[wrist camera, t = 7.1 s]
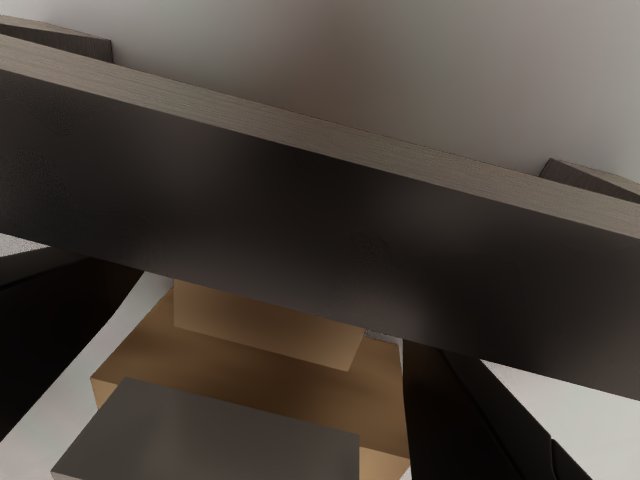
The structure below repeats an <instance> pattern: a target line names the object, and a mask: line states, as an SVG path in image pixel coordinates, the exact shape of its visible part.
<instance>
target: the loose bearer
mask: <svg viewBox="0 0 640 480" xmlns="http://www.w3.org/2000/svg"><path fill="white" fill-rule="evenodd" d="M173 301H174V326H175V327H179V328H183V329H187V330H190V331H194V332H198V333H202V334H206V335H209V336H213V337H217V338H221V339H225V340H228V341H232V342H236V343H240V344H244V345H247V346H251V347H255V348H259V349H263V350H267V351H270V352H274V353H278V354H282V355H286V356H289V357H293V358H297V359H301V360H305V361H308V362H312V363H316V364H320V365H324V366H327V367H331V368H335V369H339V370H343V371H346V372H348V370H349V368H350V365H351V363H352V361H353V358H354V356H355V354H356V352H357V349H358V347H359V345H360V342H361V340H362V338H363V335H364V333H365V331H366V329H364V328H360V327H356V326H353V325H349V324H345V323H341V322H337V321H334V320H330V319H326V318H322V317H318V316H315V315H311V314H307V313H303V312H299V311H296V310H292V309H288V308H284V307H280V306H277V305H273V304H269V303H265V302H261V301H258V300H254V299H250V298H246V297H242V296H239V295H235V294H231V293H227V292H223V291H220V290H216V289H212V288H208V287H204V286H201V285H197V284H193V283H189V282H185V281H182V280H178V279H174V278H173Z"/></svg>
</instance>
